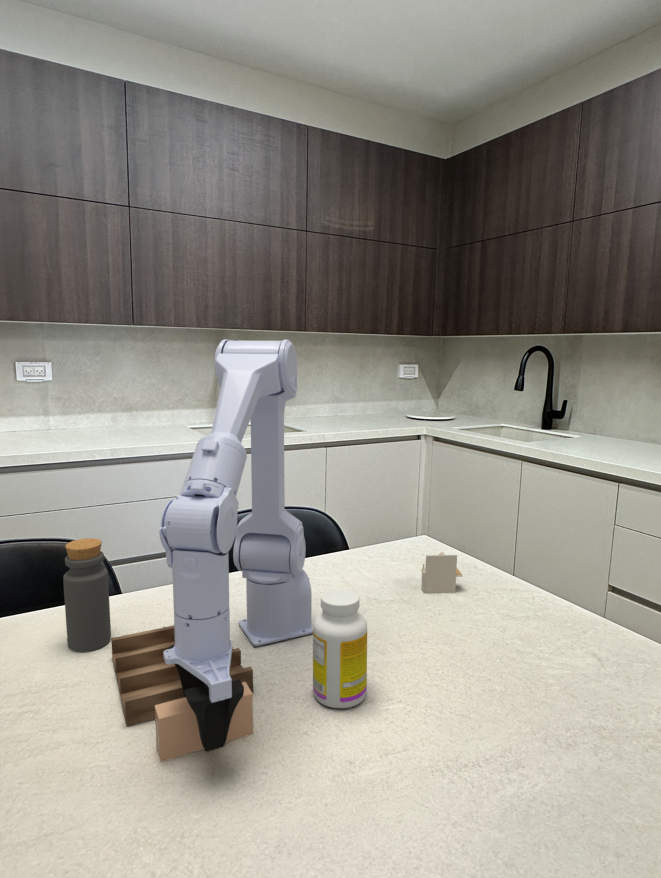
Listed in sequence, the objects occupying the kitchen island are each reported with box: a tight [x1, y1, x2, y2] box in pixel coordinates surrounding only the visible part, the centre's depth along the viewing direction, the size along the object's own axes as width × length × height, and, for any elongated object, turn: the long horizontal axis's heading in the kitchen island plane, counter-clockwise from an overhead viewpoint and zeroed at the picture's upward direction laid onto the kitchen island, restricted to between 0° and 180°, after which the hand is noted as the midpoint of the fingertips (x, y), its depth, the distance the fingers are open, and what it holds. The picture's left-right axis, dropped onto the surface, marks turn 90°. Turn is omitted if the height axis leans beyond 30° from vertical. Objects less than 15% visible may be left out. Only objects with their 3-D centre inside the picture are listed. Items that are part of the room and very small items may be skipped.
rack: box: [110, 624, 254, 727], centre depth 73 cm, size 15×16×3 cm
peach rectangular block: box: [154, 682, 254, 763], centre depth 61 cm, size 10×2×5 cm, turn 116°
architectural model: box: [420, 551, 463, 595], centre depth 101 cm, size 3×7×7 cm, turn 94°
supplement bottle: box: [312, 588, 368, 709], centre depth 69 cm, size 7×7×13 cm
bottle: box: [62, 537, 112, 653], centre depth 80 cm, size 6×6×15 cm
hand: (205, 725), depth 61 cm, fingers open, 7 cm apart
